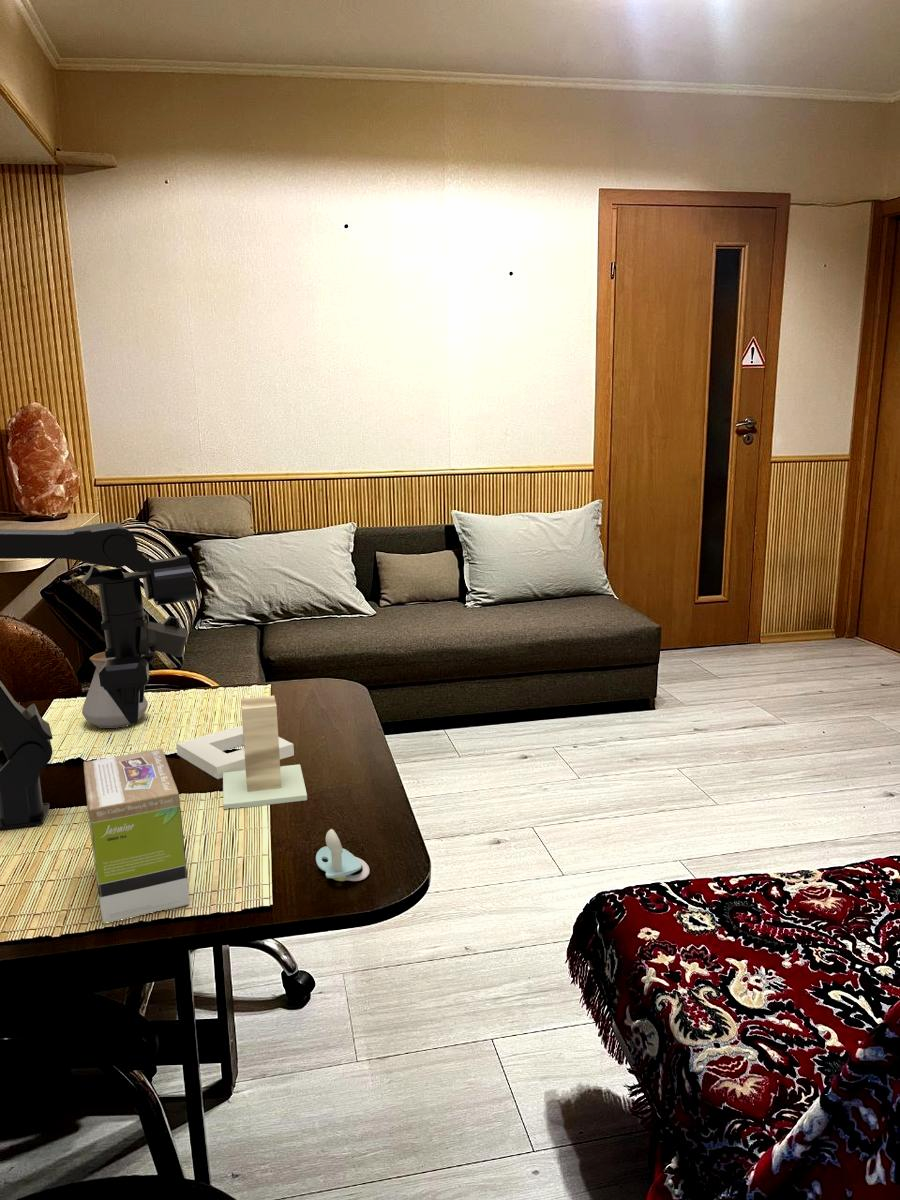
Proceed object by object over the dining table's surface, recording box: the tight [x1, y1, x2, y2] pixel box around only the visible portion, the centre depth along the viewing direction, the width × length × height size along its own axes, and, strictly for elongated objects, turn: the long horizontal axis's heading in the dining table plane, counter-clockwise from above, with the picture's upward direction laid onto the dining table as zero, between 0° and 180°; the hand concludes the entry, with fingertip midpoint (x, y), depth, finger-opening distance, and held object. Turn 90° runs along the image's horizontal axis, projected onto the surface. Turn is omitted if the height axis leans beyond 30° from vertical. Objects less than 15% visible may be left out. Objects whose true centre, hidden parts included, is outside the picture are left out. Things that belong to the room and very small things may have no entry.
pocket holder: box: [175, 724, 295, 780], centre depth 153 cm, size 14×14×2 cm
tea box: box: [83, 748, 191, 924], centre depth 110 cm, size 15×10×15 cm, turn 24°
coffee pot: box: [81, 651, 149, 729], centre depth 164 cm, size 21×12×15 cm, turn 27°
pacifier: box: [315, 828, 370, 882], centre depth 114 cm, size 7×6×6 cm
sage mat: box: [222, 763, 308, 810], centre depth 139 cm, size 12×12×1 cm
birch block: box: [240, 695, 281, 792], centre depth 138 cm, size 5×5×13 cm
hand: (136, 712), depth 135 cm, fingers open, 9 cm apart
